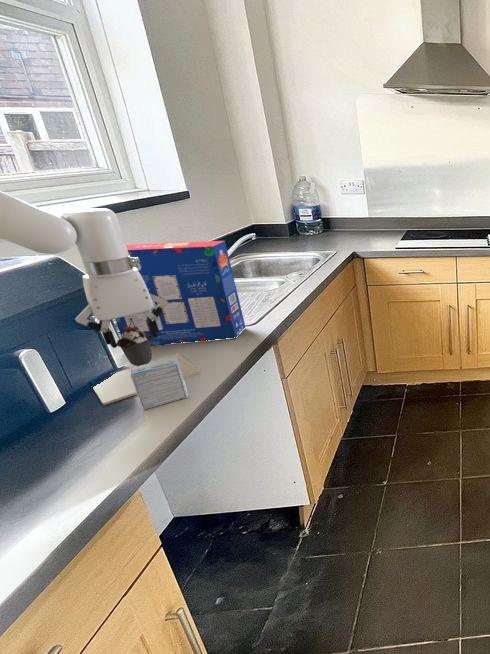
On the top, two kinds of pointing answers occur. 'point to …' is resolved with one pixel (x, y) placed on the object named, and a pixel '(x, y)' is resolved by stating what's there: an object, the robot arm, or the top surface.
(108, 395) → the mat
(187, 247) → the pasta box
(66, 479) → the top surface
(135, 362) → the sundae
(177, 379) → the medicine box
